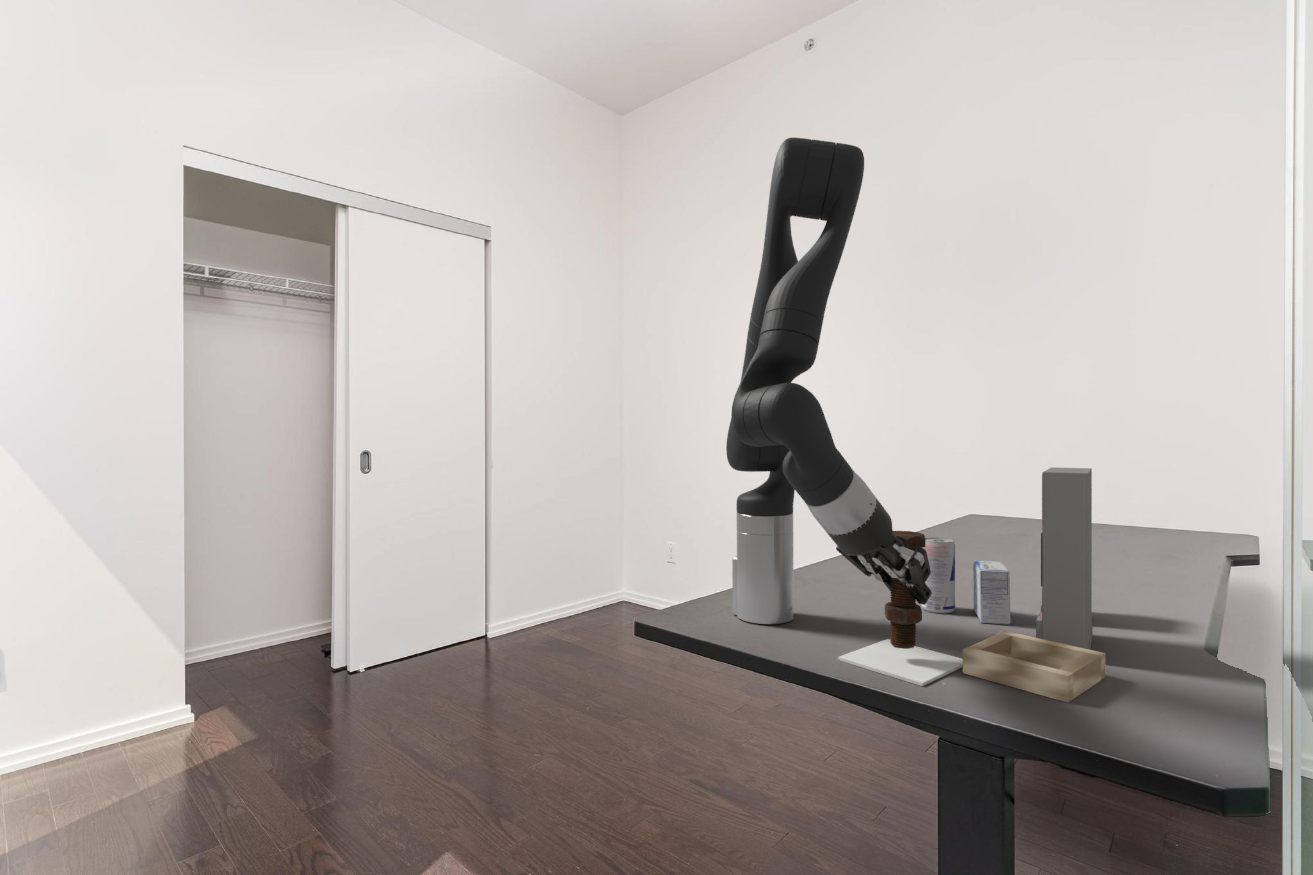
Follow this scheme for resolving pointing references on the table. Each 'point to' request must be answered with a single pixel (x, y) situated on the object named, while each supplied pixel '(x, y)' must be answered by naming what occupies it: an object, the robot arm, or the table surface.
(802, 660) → the table surface
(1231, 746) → the table surface
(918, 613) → the bolt
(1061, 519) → the cassette tape recorder
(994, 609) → the medicine box
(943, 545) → the energy drink
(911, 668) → the pad
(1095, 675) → the wooden frame
